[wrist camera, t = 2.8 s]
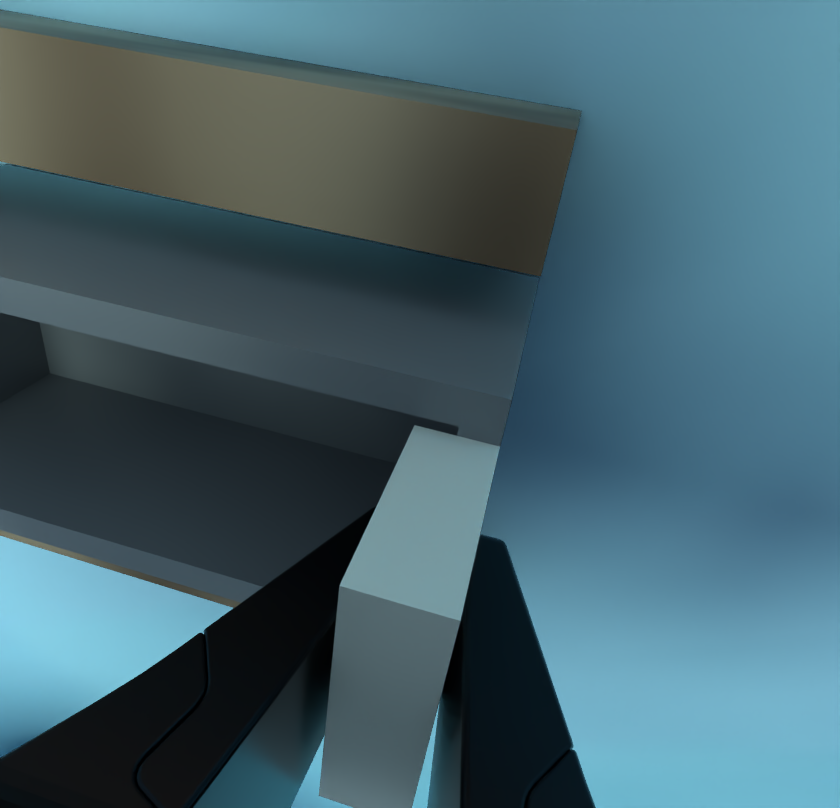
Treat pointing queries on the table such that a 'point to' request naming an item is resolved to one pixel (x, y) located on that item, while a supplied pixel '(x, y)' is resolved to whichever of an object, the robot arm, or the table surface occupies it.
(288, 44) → the table surface
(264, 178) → the dock
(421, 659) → the caddy
